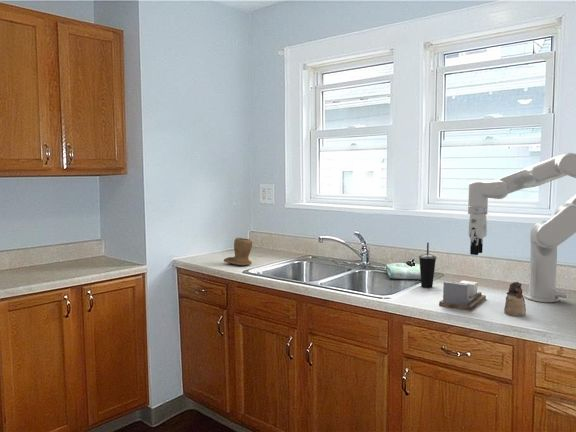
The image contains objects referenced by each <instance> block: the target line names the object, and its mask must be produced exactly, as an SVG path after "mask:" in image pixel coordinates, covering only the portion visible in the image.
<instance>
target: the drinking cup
mask: <svg viewBox="0 0 576 432" xmlns="http://www.w3.org/2000/svg"><path fill="white" fill-rule="evenodd" d="M429 244H430V243H429V242H426V253H423V254H421V255H419V256H418V258H419V264H420V274H421V280H420V286H421V288H424V289H430V288H433V287H434V277H435V269H436V261H437V256H435V255H433V254H432V253H429V250H430V246H429Z"/></svg>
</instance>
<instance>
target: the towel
mask: <svg viewBox="0 0 576 432" xmlns="http://www.w3.org/2000/svg"><path fill="white" fill-rule="evenodd" d="M406 263H407V262H393V263H387V264H386V265H385V266H386V273H387V275H388V277H389V278H390V279H395V280H415V281H416V280H417V281H419V280H420V281H421V274H420V263H415V266H412V267H410V266H408V265H407V264H406Z"/></svg>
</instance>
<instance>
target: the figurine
mask: <svg viewBox="0 0 576 432" xmlns="http://www.w3.org/2000/svg"><path fill="white" fill-rule="evenodd" d="M503 309H504V310H503V313H504V314H505V315H507V316H510V317H518V318H519V317H520V318H521V317H525V316H526V314H527V309H526V298H525V297H524V295H523V288H522V283H521V282H519V281H514V282H511V283H510V284H509V288H508V291H507V292H506V297H505V304H504V308H503Z"/></svg>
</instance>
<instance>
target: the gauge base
mask: <svg viewBox="0 0 576 432" xmlns="http://www.w3.org/2000/svg"><path fill="white" fill-rule="evenodd" d="M486 298H487V295H484V294H482V292H481V291H477V294H476V295H474V296H473V297H469V305H468V306H461V305H455V304H449V303H443V299H442V300H440V301H439V302H438V305H439V306H440V307H444V308H451V309H456V310H461V311H463V310H464V311H469V312H472V311H473V310H474V309H475V308H477V307H478V306H479V305H480V304H482V303H483V302H484V301H486ZM439 306H438V307H439Z"/></svg>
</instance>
